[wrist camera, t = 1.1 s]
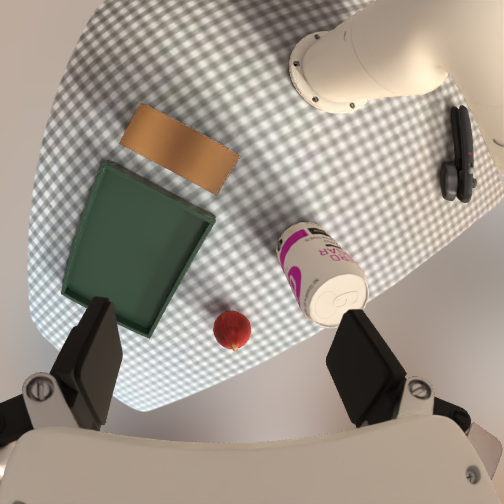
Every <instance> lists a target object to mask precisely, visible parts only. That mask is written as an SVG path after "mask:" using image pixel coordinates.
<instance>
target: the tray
mask: <svg viewBox="0 0 504 504" xmlns="http://www.w3.org/2000/svg"><path fill="white" fill-rule="evenodd" d="M215 218H216V217H215V216H214V215H212V214H210V213H208V212H206V211H205V210H203V209H201V208H199V207H197V206H195V205H193V204H192V203H190V202H188V201H186V200H184V199H182V198H180V197H179V196H177V195H175V194H173V193H171V192H169V191H167V190H165V189H164V188H162V187H160V186H158V185H156V184H154V183H152V182H150V181H148V180H147V179H145V178H143V177H141V176H139V175H137V174H135V173H133V172H131V171H129V170H128V169H126V168H124V167H122V166H120V165H118V164H116V163H114V162H112V161H110V160H107V161H105V162H103V163H102V165H101V167H100V169H99V172H98V174H97V177H96V179H95V182H94V184H93V187H92V189H91V192H90V194H89V197H88V200H87V203H86V205H85V208H84V211H83V214H82V217H81V220H80V223H79V226H78V229H77V232H76V236H75V239H74V242H73V246H72V249H71V253H70V257H69V260H68V264H67V268H66V272H65V277H64V281H63V285H62V290H61V294H62V295H64V296H65V297H67V298H69V299H71V300H72V301H74V302H76V303H78V304H80V305H81V306H83V307H85V308H88V306H89V304H90V302H91V301H92V299H93V297H94V296H98V297H106V298H109V301H110V302H113V304H114V310H115V316H116V321H117V324H119V325H121V326H123V327H125V328H127V329H129V330H131V331H133V332H136V333H138V334H140V335H142V336H145V337H147V338H149V339H150V338H151V336H152V334H153V332H154V330H155V328H156V326H157V324H158V323H159V321H160V319H161V317H162V315H163V313H164V311H165V310H166V308H167V306H168V304H169V302H170V300H171V299H172V297H173V295H174V293H175V291H176V289H177V288H178V286H179V284H180V282H181V281H182V279H183V277H184V275H185V273H186V272H187V270H188V268H189V266H190V265H191V263H192V261H193V259H194V258H195V256H196V254H197V253H198V251H199V249H200V247H201V246H202V244H203V242H204V241H205V239H206V237H207V235H208V234H209V232H210V230H211V229H212V227H213V225H214V224H215Z"/></svg>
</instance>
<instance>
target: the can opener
mask: <svg viewBox="0 0 504 504" xmlns="http://www.w3.org/2000/svg"><path fill="white" fill-rule="evenodd" d="M451 122H452V133H453V143H454V155H455V160H454V163H453V162H447V163H444V164H443V165H442V169H441V191H442V196H443V198H444V199H446V200H449V201H453V200H454V199H455V197H457V198H458V199H459V200H460V201H461V202H463V203H468V202H469V201H470V200H471V196H472V188H475V187H476V186H477V181H476V179H474V178H473V172H474V168H473V166H474V165H473V164H474V159H473V139H472V130H471V124H470V118H469V114H468V110H467V108H466V107H465V106H463V105H461V106H460V107H459V109H458V108H457V107H453V108H452V109H451Z"/></svg>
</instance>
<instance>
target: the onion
mask: <svg viewBox="0 0 504 504" xmlns="http://www.w3.org/2000/svg"><path fill="white" fill-rule="evenodd" d="M213 332H214V335H215V337H216V340H217V341H218V343H219V344H221V345H222V346H223V347H225V348H228V349H233V350H234V351H237V350H238V348H240V347H242V346H243V345H244V344H245V343H246V342H247V341H248V340H249V337H250V334H251V326H250V322H249V320H248V319H247V318H246V317H245V316H244V315H243V314H241V313H239V312H236V311H227V312H224V313H222V314H221V315H220V316H219V317H218V318H217V319H216V320H215V323H214V328H213Z"/></svg>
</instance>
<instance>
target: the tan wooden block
mask: <svg viewBox="0 0 504 504" xmlns="http://www.w3.org/2000/svg"><path fill="white" fill-rule="evenodd" d="M119 144H121V145H123V146H125V147H127V148H129V149H131V150H132V151H134V152H136V153H138V154H140V155H142V156H144V157H146V158H148V159H150V160H152V161H154V162H156V163H157V164H159V165H161V166H163V167H165V168H167V169H169V170H171V171H172V172H174V173H176V174H178V175H180V176H182V177H184V178H186V179H187V180H189V181H191V182H193V183H195V184H197V185H198V186H200V187H202V188H204V189H206V190H208V191H209V192H211V193H213V194H215V195H217V194H218V192H219V191H220V189H221V187H222V186H223V184H224V182H225V181H226V179H227V178H228V176H229V174H230V173H231V171H232V170H233V168H234V166H235V165H236V163H237V162H238V160H239V158H240V155H239V154H237V153H236V152H234V151H232V150H231V149H229V148H227V147H225V146H224V145H222V144H220V143H218V142H217V141H215V140H213V139H211V138H210V137H208V136H206V135H204V134H202V133H200V132H199V131H197V130H195V129H193V128H191V127H189V126H187V125H186V124H184V123H182V122H180V121H178V120H176V119H174V118H172V117H170V116H168V115H166V114H164V113H162V112H160V111H158V110H156V109H154V108H152V107H150V106H148V105H145V104H142V103H141V104H140V105H139V107H138V109H137V111H136V112H135V114H134V116H133V118H132V120H131V122H130V123H129V125H128V127H127V129H126V131H125V133H124V135H123V137H122V139H121V141H120V143H119Z"/></svg>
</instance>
